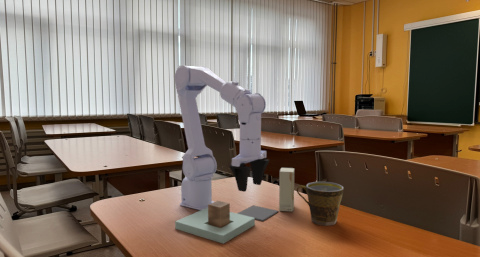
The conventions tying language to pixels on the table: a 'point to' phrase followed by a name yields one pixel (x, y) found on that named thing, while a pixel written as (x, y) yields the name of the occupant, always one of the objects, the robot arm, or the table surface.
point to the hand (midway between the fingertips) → (249, 187)
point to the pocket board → (200, 226)
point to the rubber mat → (258, 212)
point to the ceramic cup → (323, 201)
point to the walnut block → (219, 214)
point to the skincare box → (286, 189)
